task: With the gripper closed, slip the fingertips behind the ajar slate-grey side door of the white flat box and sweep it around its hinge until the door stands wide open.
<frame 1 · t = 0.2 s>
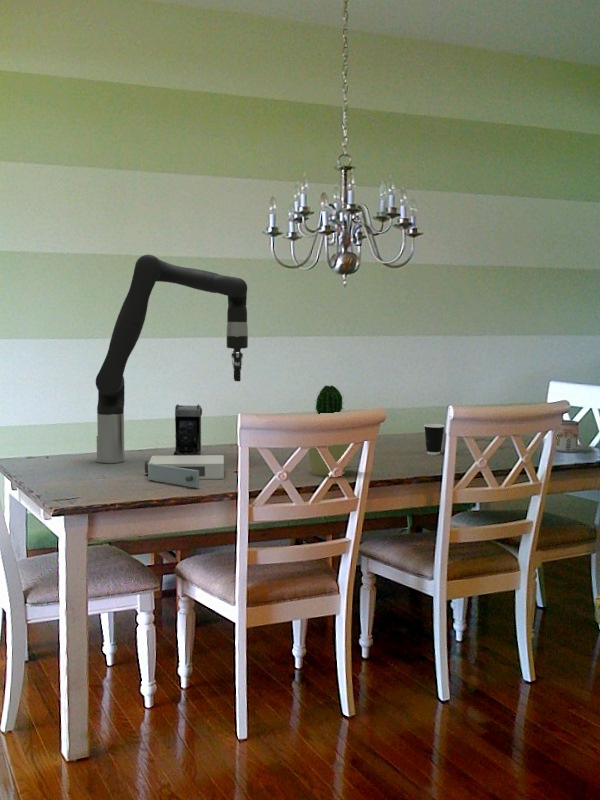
hand: (237, 380, 310), 29 cm above the table, fingers open, 8 cm apart
vintage camera: (187, 461, 312), on the table
dixie cup: (433, 454, 332), on the table
side door: (171, 475, 270), point 3 cm above the table, hinge at 40.0°
white flat box: (187, 474, 286), on the table
potted cactus: (328, 473, 291), on the table
house shaped jar: (566, 451, 341), on the table
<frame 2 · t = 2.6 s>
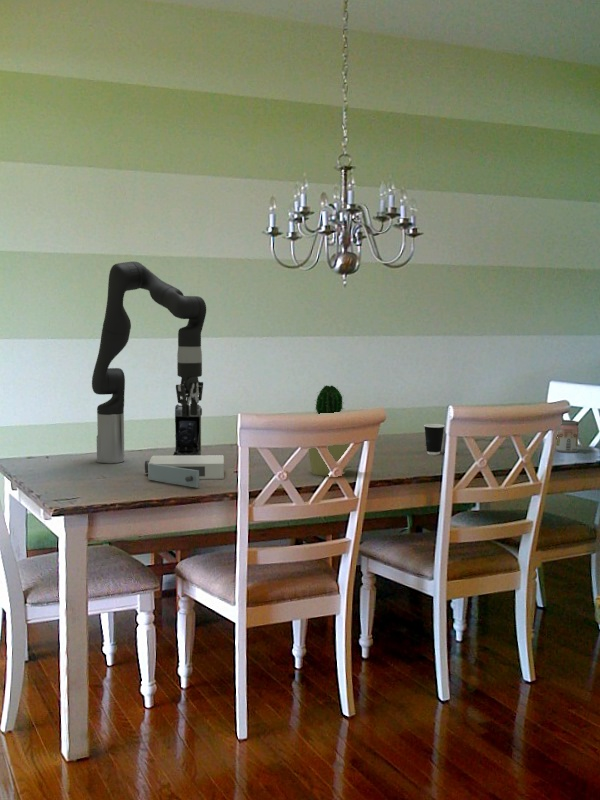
hand: (189, 415, 269), 21 cm above the table, fingers open, 4 cm apart
nothing on the table moved.
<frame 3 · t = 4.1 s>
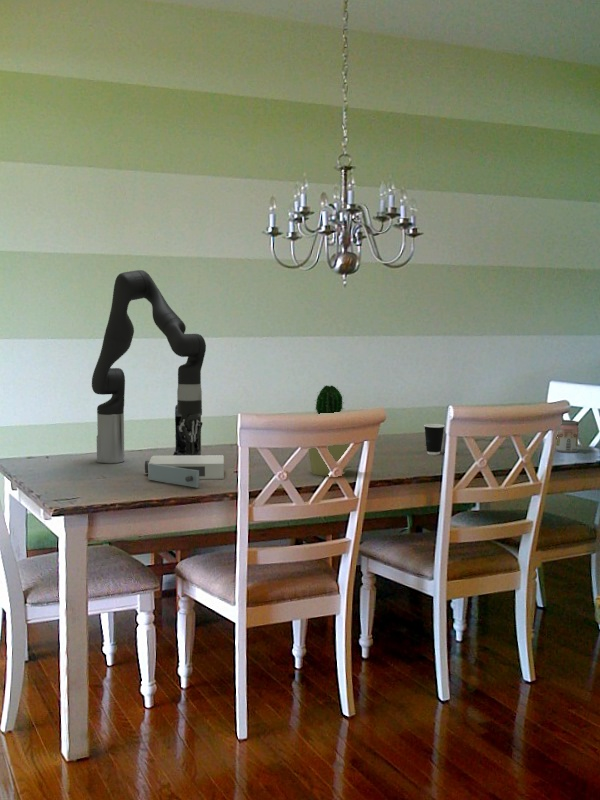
hand: (190, 453, 270), 9 cm above the table, fingers closed
nothing on the table moved.
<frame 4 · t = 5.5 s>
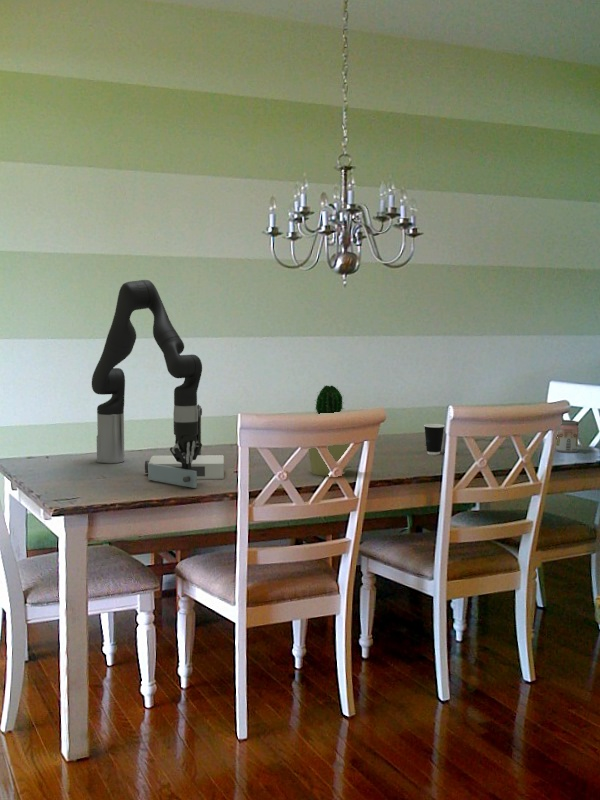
hand: (186, 474, 269), 3 cm above the table, fingers closed
side door: (170, 475, 269), point 3 cm above the table, hinge at 43.0°, touching gripper
everything else where it was.
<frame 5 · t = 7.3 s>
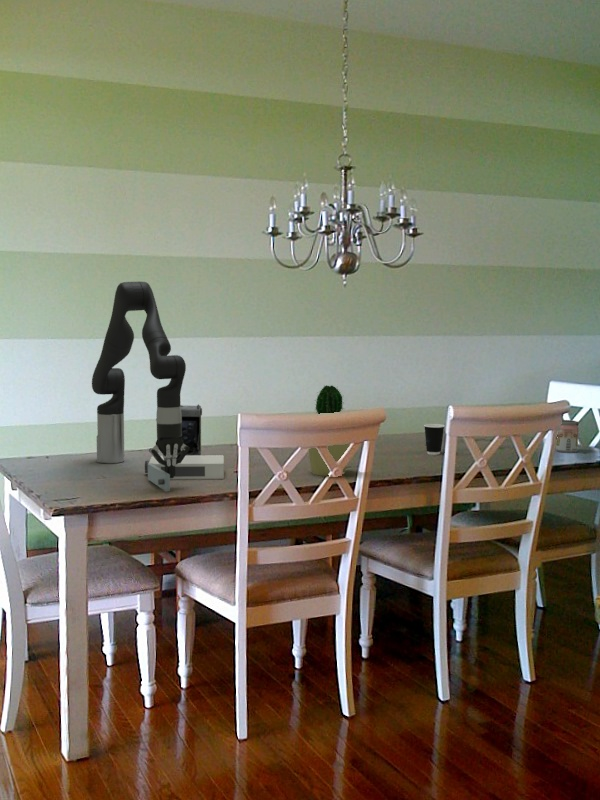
hand: (170, 477, 265), 3 cm above the table, fingers closed
side door: (156, 476, 267), point 3 cm above the table, hinge at 69.6°, touching gripper
everything else where it was.
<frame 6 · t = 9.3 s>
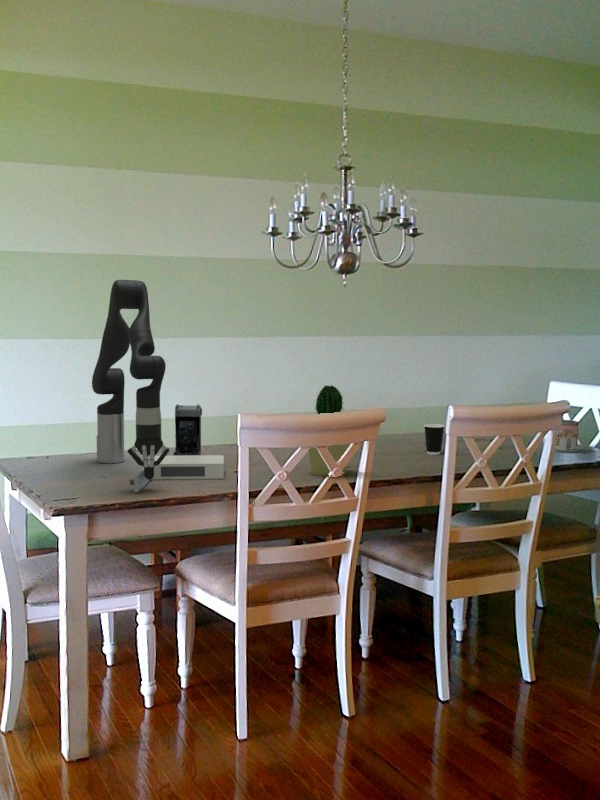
hand: (149, 478, 262), 3 cm above the table, fingers closed
side door: (141, 477, 266), point 3 cm above the table, hinge at 96.0°, touching gripper
everything else where it was.
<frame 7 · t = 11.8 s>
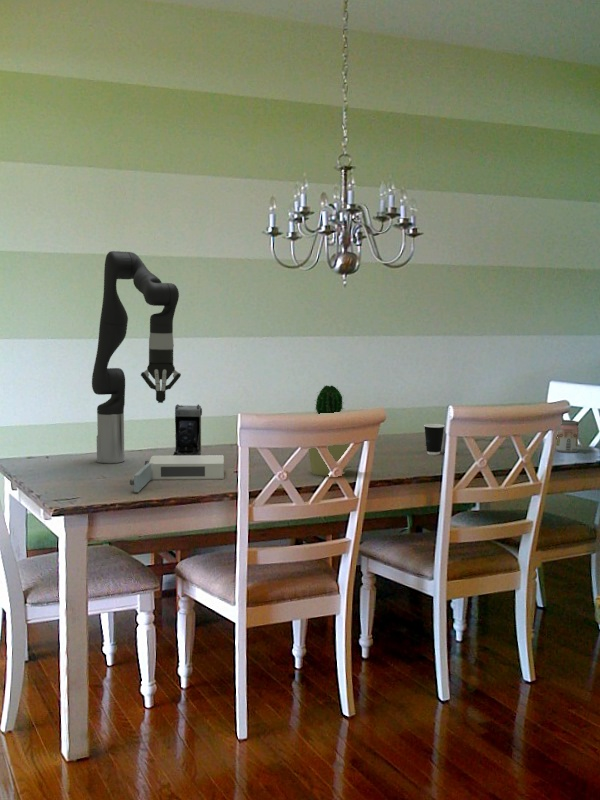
hand: (160, 402, 273), 25 cm above the table, fingers closed
side door: (141, 477, 266), point 3 cm above the table, hinge at 96.0°
everything else where it was.
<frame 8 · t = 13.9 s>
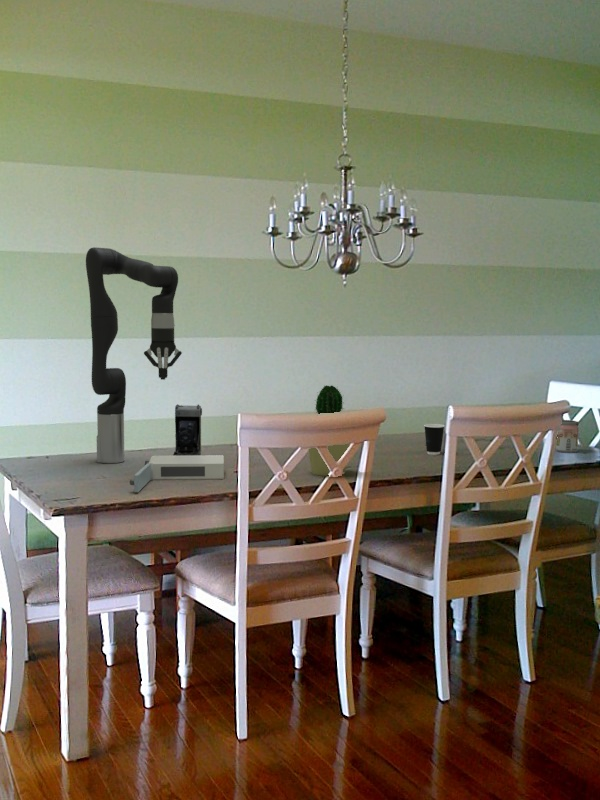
hand: (163, 379, 288), 31 cm above the table, fingers closed
nothing on the table moved.
at the end: side door at +96° (first picture: +40°) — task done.
